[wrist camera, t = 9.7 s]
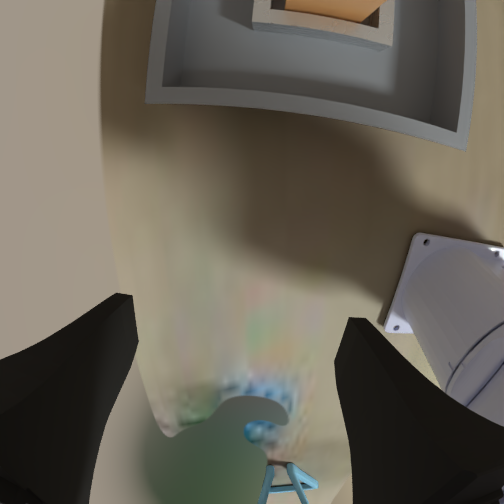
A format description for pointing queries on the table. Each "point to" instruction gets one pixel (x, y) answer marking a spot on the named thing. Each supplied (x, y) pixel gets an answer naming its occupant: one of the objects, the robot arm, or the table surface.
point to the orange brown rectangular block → (335, 8)
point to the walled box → (321, 67)
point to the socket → (328, 25)
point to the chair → (294, 476)
